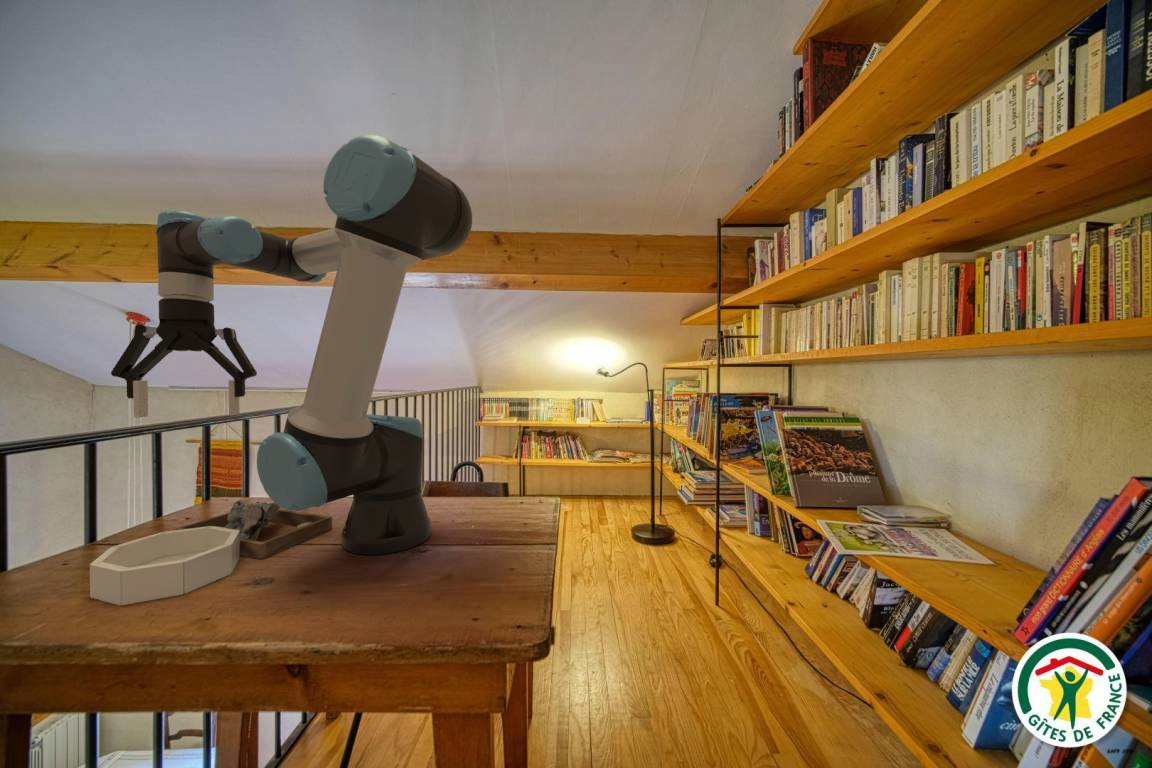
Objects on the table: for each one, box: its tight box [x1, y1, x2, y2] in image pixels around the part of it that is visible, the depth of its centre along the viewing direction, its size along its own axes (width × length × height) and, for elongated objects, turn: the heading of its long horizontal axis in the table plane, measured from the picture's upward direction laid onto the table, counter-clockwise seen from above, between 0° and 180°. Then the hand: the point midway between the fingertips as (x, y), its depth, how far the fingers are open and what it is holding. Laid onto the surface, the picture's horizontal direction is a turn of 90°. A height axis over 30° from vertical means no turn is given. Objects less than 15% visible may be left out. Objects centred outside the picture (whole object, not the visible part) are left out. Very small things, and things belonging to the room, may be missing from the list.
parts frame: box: [173, 508, 333, 560], centre depth 78 cm, size 20×14×2 cm
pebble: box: [296, 522, 313, 529], centre depth 81 cm, size 3×3×2 cm
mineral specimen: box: [224, 499, 281, 541], centre depth 78 cm, size 10×8×10 cm
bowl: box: [89, 526, 241, 606], centre depth 63 cm, size 15×15×4 cm
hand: (189, 415), depth 78 cm, fingers open, 13 cm apart
